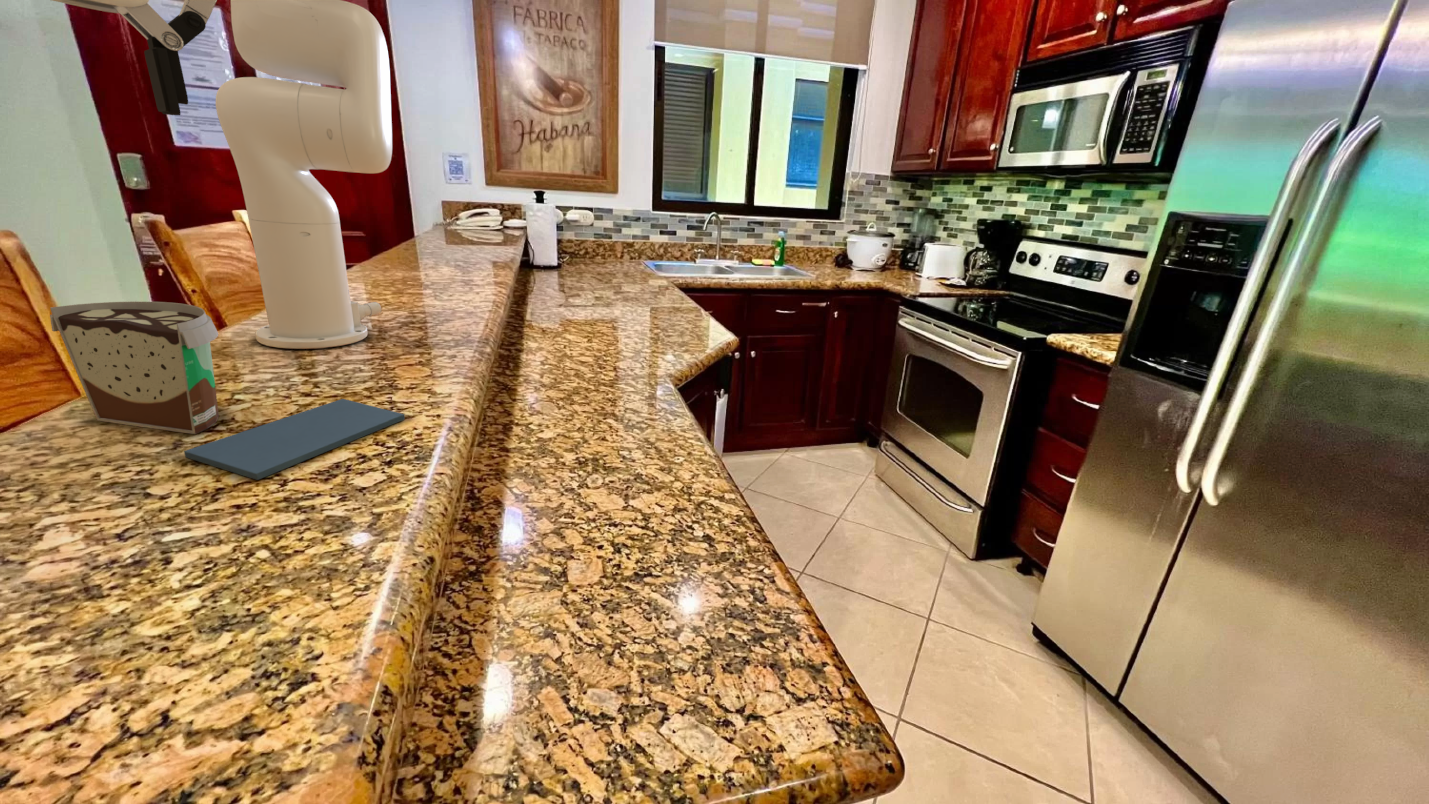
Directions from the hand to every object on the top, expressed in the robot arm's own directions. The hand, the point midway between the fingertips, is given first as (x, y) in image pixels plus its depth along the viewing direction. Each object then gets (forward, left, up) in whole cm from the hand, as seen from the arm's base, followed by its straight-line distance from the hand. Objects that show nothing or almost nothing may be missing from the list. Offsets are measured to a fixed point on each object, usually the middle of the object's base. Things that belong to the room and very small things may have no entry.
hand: (67, 101), depth 35 cm
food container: (-6, -8, -26) cm, 28 cm away
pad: (-8, +5, -26) cm, 27 cm away
